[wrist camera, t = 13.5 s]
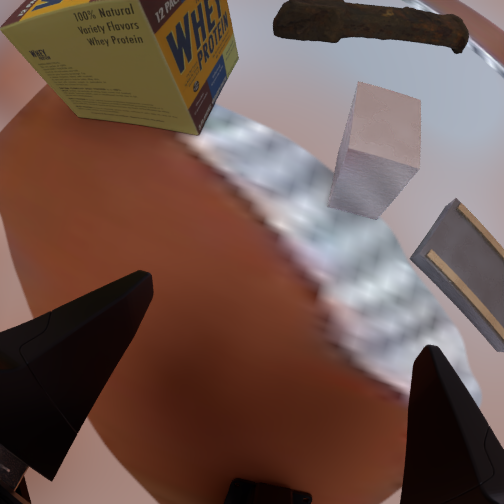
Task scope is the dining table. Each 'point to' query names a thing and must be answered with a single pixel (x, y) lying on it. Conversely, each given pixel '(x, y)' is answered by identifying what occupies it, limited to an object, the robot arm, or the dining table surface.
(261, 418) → the dining table surface
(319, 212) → the dining table surface
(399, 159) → the pale upright block
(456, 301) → the grey gold-striped flat block
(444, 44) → the dark brown rod
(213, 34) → the protein box
